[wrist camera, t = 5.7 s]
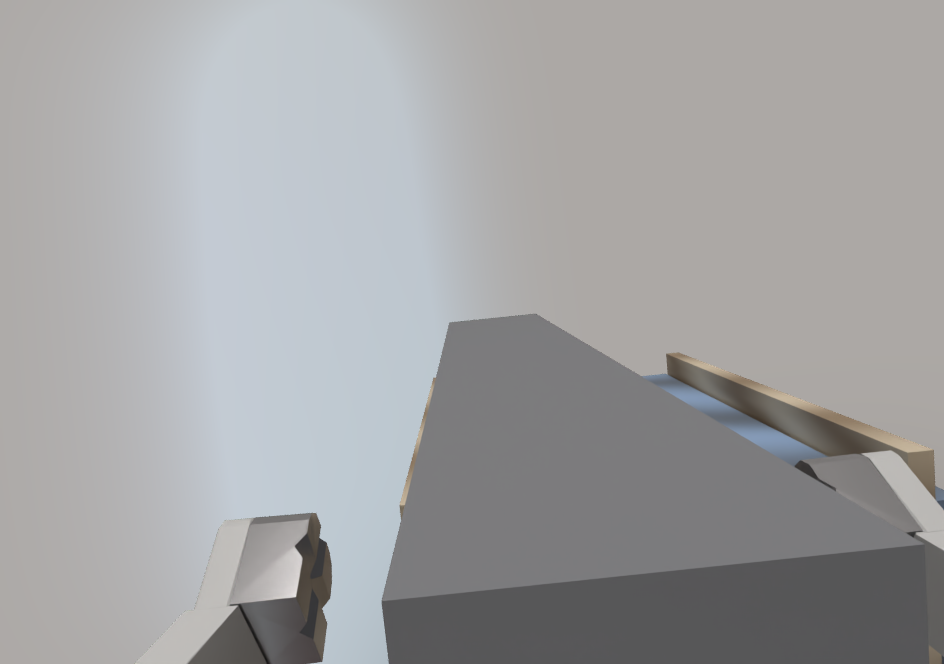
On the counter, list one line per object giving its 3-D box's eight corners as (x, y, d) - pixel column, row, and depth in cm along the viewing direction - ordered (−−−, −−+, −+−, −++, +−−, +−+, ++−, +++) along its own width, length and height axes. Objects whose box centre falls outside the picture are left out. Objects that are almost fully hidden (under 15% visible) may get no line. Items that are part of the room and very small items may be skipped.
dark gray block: (458, 407, 31) (449, 322, 31) (543, 398, 31) (535, 313, 31) (438, 1086, 5) (381, 601, 5) (944, 1031, 5) (924, 544, 5)
